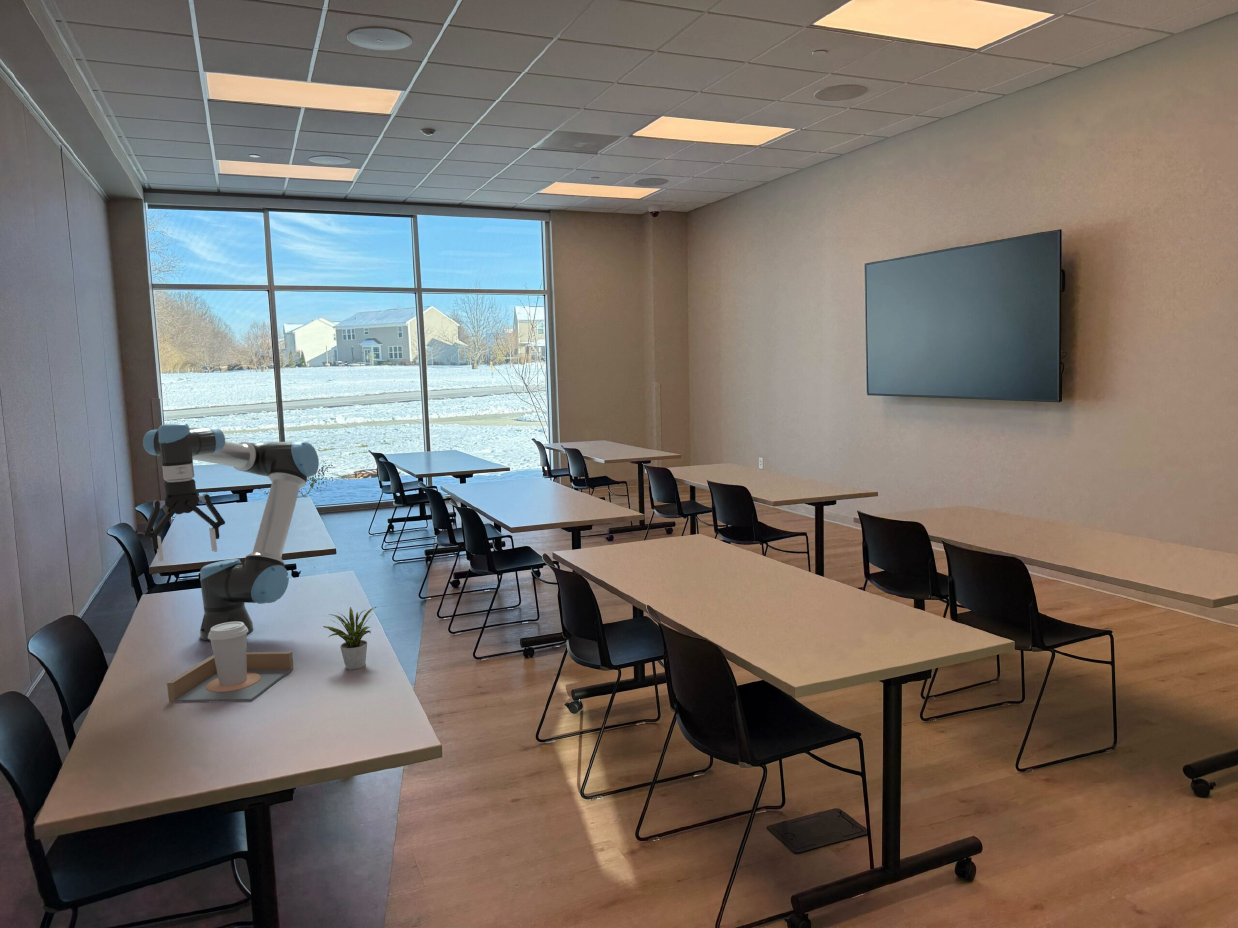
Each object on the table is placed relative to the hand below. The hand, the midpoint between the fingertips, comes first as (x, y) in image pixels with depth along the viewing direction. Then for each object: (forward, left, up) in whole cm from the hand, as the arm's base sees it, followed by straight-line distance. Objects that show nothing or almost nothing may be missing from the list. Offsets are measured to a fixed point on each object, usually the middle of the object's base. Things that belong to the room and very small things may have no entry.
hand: (188, 555), depth 226 cm
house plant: (+1, +47, -32) cm, 56 cm away
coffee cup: (+15, +19, -31) cm, 39 cm away
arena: (+15, +19, -31) cm, 40 cm away
